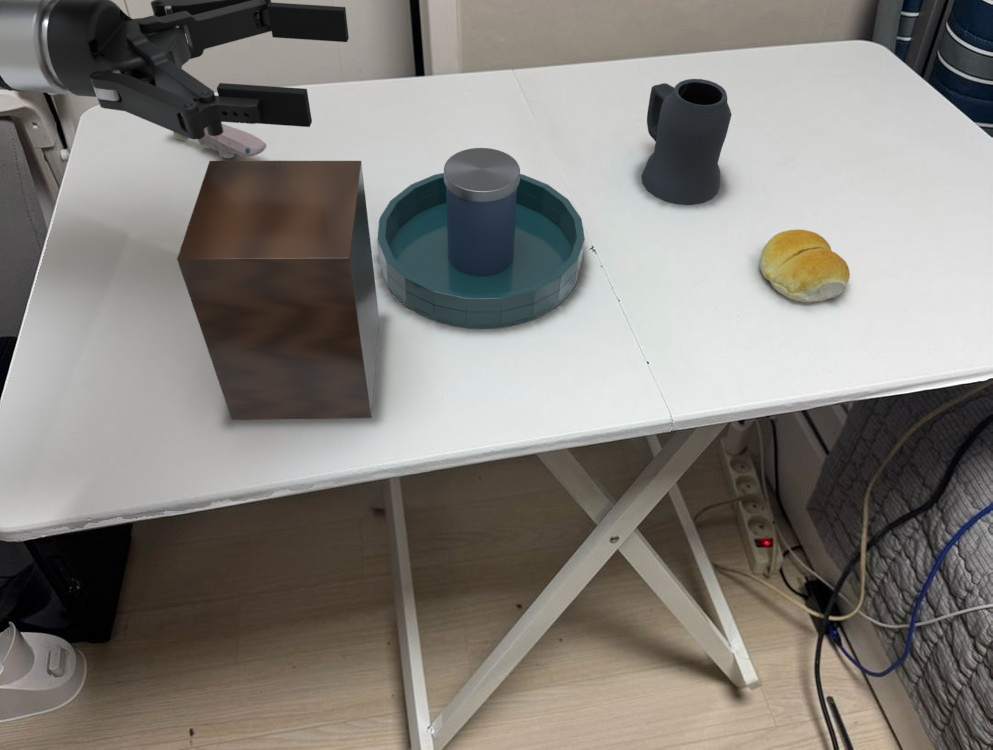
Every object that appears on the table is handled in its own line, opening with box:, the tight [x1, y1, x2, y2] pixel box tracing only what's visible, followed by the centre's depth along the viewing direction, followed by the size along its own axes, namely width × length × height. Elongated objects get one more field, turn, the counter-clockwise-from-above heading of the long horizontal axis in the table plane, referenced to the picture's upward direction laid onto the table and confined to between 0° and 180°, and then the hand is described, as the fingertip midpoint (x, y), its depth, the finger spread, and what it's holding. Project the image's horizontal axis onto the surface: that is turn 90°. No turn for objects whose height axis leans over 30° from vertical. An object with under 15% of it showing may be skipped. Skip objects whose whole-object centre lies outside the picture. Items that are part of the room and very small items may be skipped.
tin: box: [443, 147, 521, 276], centre depth 82 cm, size 7×7×10 cm
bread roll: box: [758, 229, 851, 303], centre depth 84 cm, size 8×9×4 cm
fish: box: [173, 114, 267, 159], centre depth 96 cm, size 3×14×5 cm, turn 63°
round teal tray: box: [376, 172, 586, 330], centre depth 85 cm, size 21×21×4 cm
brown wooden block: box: [176, 160, 380, 421], centre depth 69 cm, size 12×12×18 cm
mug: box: [640, 78, 733, 206], centre depth 93 cm, size 12×9×11 cm
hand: (329, 63), depth 66 cm, fingers open, 13 cm apart
